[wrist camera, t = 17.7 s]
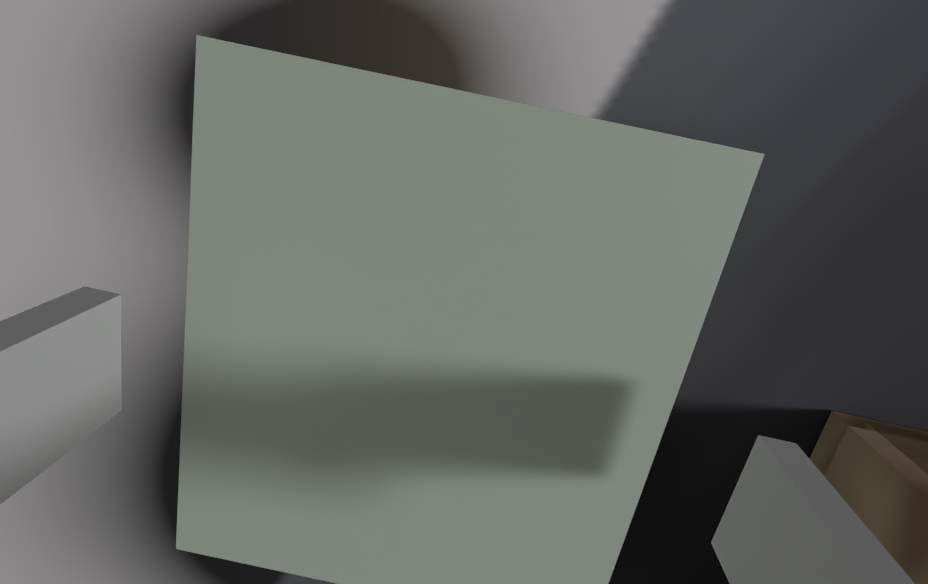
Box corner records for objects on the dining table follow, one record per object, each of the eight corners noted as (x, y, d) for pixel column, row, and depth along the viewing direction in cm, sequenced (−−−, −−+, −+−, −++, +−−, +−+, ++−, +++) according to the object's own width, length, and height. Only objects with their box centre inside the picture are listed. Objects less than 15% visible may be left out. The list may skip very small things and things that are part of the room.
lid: (251, 49, 14) (196, 35, 11) (717, 147, 14) (765, 154, 11) (220, 489, 18) (176, 548, 16) (577, 566, 18) (588, 637, 16)
